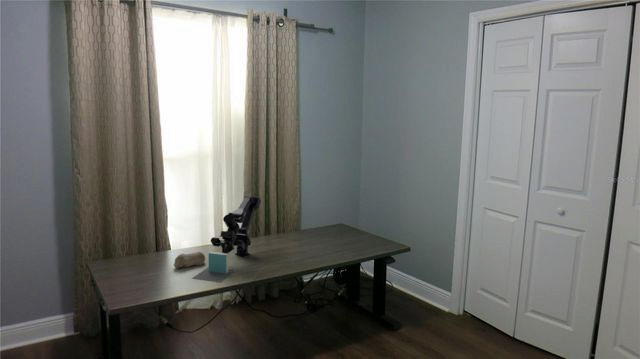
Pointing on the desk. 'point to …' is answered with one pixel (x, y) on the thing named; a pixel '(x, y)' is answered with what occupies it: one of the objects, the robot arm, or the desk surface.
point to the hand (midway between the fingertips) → (223, 257)
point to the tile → (218, 262)
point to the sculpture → (189, 260)
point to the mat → (213, 275)
